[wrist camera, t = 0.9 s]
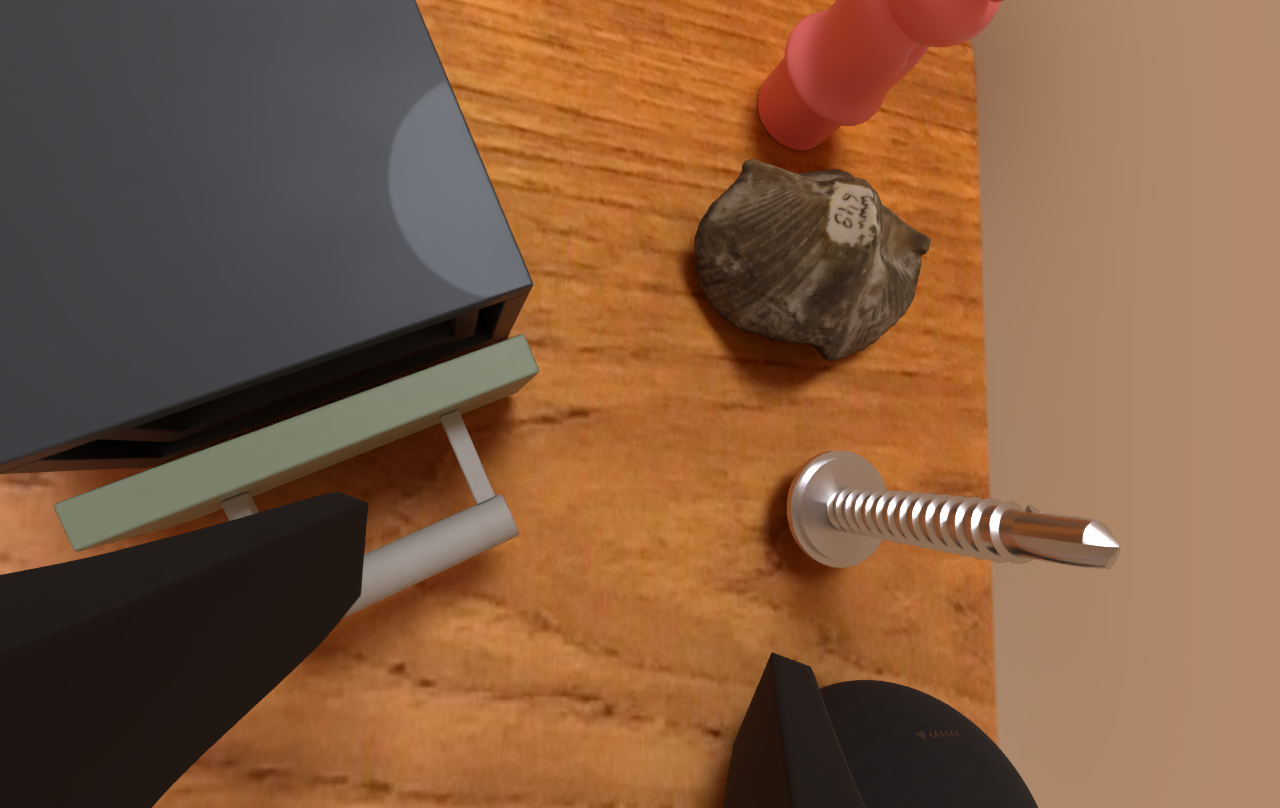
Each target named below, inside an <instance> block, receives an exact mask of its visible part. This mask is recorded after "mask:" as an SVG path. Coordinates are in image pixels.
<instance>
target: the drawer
mask: <svg viewBox="0 0 1280 808" xmlns="http://www.w3.org/2000/svg"><path fill="white" fill-rule="evenodd" d="M478 312H479V310H476V311H473V312H470V313H467V314H464V315H461V316H458V317H455V318H452V319H449V320H446V321H444V322H441V323H438V324H435V325H432V326H429V327H426V328H423V329H420V330H417V331H414V332H411V333H408V334H405V335H403V336H400V337H397V338H394V339H391V340H388V341H385V342H382V343H379V344H376V345H373V346H370V347H367V348H364V349H361V350H359V351H356V352H353V353H350V354H347V355H344V356H341V357H338V358H335V359H332V360H329V361H326V362H323V363H320V364H317V365H315V366H312V367H309V368H306V369H303V370H300V371H297V372H294V373H291V374H288V375H285V376H282V377H279V378H276V379H273V380H271V381H268V382H265V383H262V384H259V385H256V386H253V387H250V388H247V389H244V390H241V391H238V392H235V393H232V394H230V395H227V396H224V397H221V398H218V399H215V400H212V401H209V402H206V403H203V404H200V405H197V406H194V407H191V408H188V409H186V410H183V411H180V412H177V413H174V414H171V415H168V416H165V417H162V418H159V419H156V420H153V421H150V422H147V423H144V424H142V425H139V426H136V427H133V428H130V429H127V430H124V431H121V432H118V433H115V434H112V435H109V436H106V437H103V438H101V439H105V440H130V441H154V442H173V441H176V440H179V439H182V438H185V437H188V436H190V435H193V434H196V433H199V432H202V431H204V430H207V429H210V428H213V427H216V426H219V425H221V424H224V423H227V422H230V421H233V420H236V419H238V418H241V417H244V416H247V415H250V414H252V413H255V412H258V411H261V410H264V409H267V408H269V407H272V406H275V405H278V404H281V403H284V402H286V401H289V400H292V399H295V398H298V397H301V396H303V395H306V394H309V393H312V392H315V391H317V390H320V389H323V388H326V387H329V386H332V385H334V384H337V383H340V382H343V381H346V380H349V379H351V378H354V377H357V376H360V375H363V374H365V373H368V372H371V371H374V370H377V369H380V368H382V367H385V366H388V365H391V364H394V363H397V362H399V361H402V360H405V359H408V358H411V357H414V356H416V355H419V354H422V353H425V352H428V351H430V350H433V349H436V348H439V347H442V346H445V345H447V344H450V343H453V342H456V341H459V340H462V339H464V338H467V337H470V336H473V335H474V332H475V327H476V322H477V317H478ZM538 372H539V368H538V366H537V364H536V361H535V359H534V356H533V354H532V352H531V349H530V347H529V344H528V342H527V340H526V337H525V336H524V335H518V336H516V337H513V338H510V339H507V340H505V341H502V342H499V343H496V344H494V345H491V346H488V347H485V348H483V349H480V350H477V351H474V352H472V353H469V354H466V355H463V356H460V357H458V358H455V359H452V360H449V361H447V362H444V363H441V364H438V365H436V366H433V367H430V368H427V369H425V370H422V371H419V372H416V373H414V374H411V375H408V376H405V377H403V378H400V379H397V380H394V381H392V382H389V383H386V384H383V385H381V386H378V387H375V388H372V389H370V390H367V391H364V392H361V393H359V394H356V395H353V396H350V397H347V398H345V399H342V400H339V401H336V402H334V403H331V404H328V405H325V406H323V407H320V408H317V409H314V410H312V411H309V412H306V413H303V414H301V415H298V416H295V417H292V418H290V419H287V420H284V421H281V422H279V423H276V424H273V425H270V426H268V427H265V428H262V429H259V430H257V431H254V432H251V433H248V434H246V435H243V436H240V437H237V438H234V439H232V440H229V441H226V442H223V443H221V444H218V445H215V446H212V447H210V448H207V449H204V450H201V451H199V452H196V453H193V454H190V455H188V456H185V457H182V458H179V459H177V460H174V461H171V462H168V463H166V464H163V465H160V466H157V467H155V468H152V469H149V470H146V471H144V472H141V473H138V474H135V475H133V476H130V477H127V478H124V479H121V480H119V481H116V482H113V483H110V484H108V485H105V486H102V487H99V488H97V489H94V490H91V491H88V492H86V493H83V494H80V495H77V496H75V497H72V498H69V499H66V500H64V501H61V502H58V503H57V504H55V505H54V509H55V511H56V513H57V515H58V517H59V519H60V522H61V524H62V526H63V528H64V530H65V532H66V535H67V537H68V539H69V541H70V543H71V545H72V547H73V549H74V550H75V551H82V550H86V549H90V548H93V547H97V546H101V545H105V544H109V543H112V542H116V541H120V540H124V539H128V538H131V537H135V536H139V535H143V534H147V533H150V532H154V531H158V530H162V529H166V528H169V527H173V526H177V525H181V524H185V523H187V522H190V521H192V520H195V519H197V518H200V517H202V516H205V515H207V514H210V513H213V512H215V511H218V510H220V509H224V512H225V514H226V516H227V518H228V520H229V521H231V520H235V519H238V518H242V517H245V516H249V515H252V514H256V513H259V512H258V509H257V507H256V505H255V503H254V500H253V498H252V497H253V496H256V495H258V494H261V493H263V492H266V491H268V490H271V489H273V488H276V487H279V486H281V485H284V484H286V483H289V482H291V481H294V480H296V479H299V478H301V477H304V476H306V475H309V474H311V473H314V472H317V471H319V470H322V469H324V468H327V467H329V466H332V465H334V464H337V463H339V462H342V461H344V460H347V459H350V458H352V457H355V456H357V455H360V454H362V453H365V452H367V451H370V450H372V449H375V448H377V447H380V446H383V445H385V444H388V443H390V442H393V441H395V440H398V439H400V438H403V437H405V436H408V435H410V434H413V433H416V432H418V431H421V430H423V429H426V428H428V427H431V426H433V425H436V424H438V423H442V425H443V428H444V430H445V432H446V435H447V437H448V439H449V442H450V444H451V446H452V449H453V451H454V453H455V456H456V458H457V460H458V463H459V465H460V467H461V470H462V472H463V474H464V477H465V479H466V481H467V484H468V486H469V488H470V491H471V493H472V495H473V498H474V500H475V502H476V503H477V504H476V505H474V506H472V507H470V508H467V509H465V510H463V511H461V512H458V513H456V514H454V515H452V516H449V517H447V518H445V519H443V520H440V521H438V522H436V523H434V524H432V525H429V526H427V527H425V528H423V529H420V530H418V531H416V532H414V533H411V534H409V535H407V536H405V537H402V538H400V539H398V540H396V541H393V542H391V543H389V544H387V545H384V546H382V547H380V548H378V549H375V550H373V551H371V552H369V553H366V554H364V563H363V576H362V589H361V596H360V597H359V598H358V600H357V601H356V602H355V603H354V605H353V606H352V607H351V608H350V610H349V611H348V612H347V613H346V614H345V616H344V617H343V618H345V617H347V616H349V615H351V614H353V613H356V612H358V611H360V610H362V609H364V608H366V607H368V606H370V605H372V604H375V603H377V602H379V601H381V600H383V599H385V598H387V597H389V596H391V595H394V594H396V593H398V592H400V591H402V590H404V589H406V588H408V587H411V586H413V585H415V584H417V583H419V582H421V581H423V580H425V579H427V578H430V577H432V576H434V575H436V574H438V573H440V572H442V571H444V570H446V569H449V568H451V567H453V566H455V565H457V564H459V563H461V562H463V561H465V560H468V559H470V558H472V557H474V556H476V555H478V554H480V553H482V552H485V551H487V550H489V549H491V548H493V547H495V546H497V545H499V544H501V543H504V542H506V541H508V540H510V539H512V538H514V537H516V536H518V535H519V533H518V529H517V527H516V524H515V522H514V519H513V517H512V515H511V512H510V510H509V508H508V506H507V503H506V501H505V499H504V497H503V496H502V495H501V494H499V495H497V496H495V494H494V491H493V489H492V487H491V484H490V482H489V480H488V477H487V475H486V473H485V470H484V468H483V466H482V463H481V461H480V459H479V456H478V454H477V452H476V449H475V447H474V445H473V442H472V440H471V438H470V435H469V433H468V431H467V428H466V426H465V424H464V421H463V419H462V417H461V414H464V413H466V412H469V411H471V410H474V409H476V408H479V407H482V406H484V405H487V404H489V403H492V402H494V401H497V400H499V399H502V398H504V397H507V396H509V395H512V394H515V393H517V392H518V391H519V390H520V389H521V388H522V387H523V386H524V385H525V384H527V383H528V382H529V381H530V380H531V379H532V378H533V377H534V376H535V375H536V374H537V373H538ZM343 618H342V619H343Z"/></svg>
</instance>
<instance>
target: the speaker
mask: <svg viewBox="0 0 1280 808" xmlns="http://www.w3.org/2000/svg"><path fill="white" fill-rule="evenodd" d="M819 690H820V692H821V695H822V698H823V701H824V704H825V707H826V709H827V712H828V715H829V718H830V720H831V723H832V726H833V728H834V731H835V734H836V736H837V739H838V741H839V744H840V747H841V749H842V752H843V755H844V757H845V760H846V762H847V765H848V767H849V770H850V772H851V774H852V777H853V779H854V782H855V784H856V786H857V789H858V791H859V793H860V796H861V798H862V800H863V803H864V805H865V808H1038V806H1037V804H1036V802H1035V800H1034V798H1033V797H1032V795H1031V793H1030V791H1029V789H1028V787H1027V786H1026V784H1025V783H1024V781H1023V779H1022V778H1021V776H1020V775H1019V773H1018V772H1017V770H1016V769H1015V767H1014V766H1013V765H1012V763H1011V762H1010V761H1009V759H1008V758H1007V757H1006V756H1005V754H1004V753H1003V752H1002V751H1001V750H1000V749H999V747H998V746H997V745H996V744H995V743H994V742H993V741H992V740H991V739H990V738H989V737H988V736H987V735H986V734H985V733H984V732H983V731H982V730H981V729H980V728H978V727H977V726H976V725H975V724H974V723H973V722H971V721H970V720H969V719H968V718H966V717H965V716H964V715H962V714H961V713H959V712H958V711H957V710H955V709H954V708H952V707H950V706H949V705H947V704H945V703H944V702H942V701H940V700H938V699H936V698H934V697H932V696H930V695H928V694H926V693H923V692H921V691H918V690H916V689H913V688H910V687H907V686H903V685H900V684H895V683H890V682H884V681H875V680H855V681H846V682H841V683H836V684H832V685H829V686H826V687H823V688H821V689H819Z"/></svg>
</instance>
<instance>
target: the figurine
mask: <svg viewBox="0 0 1280 808" xmlns="http://www.w3.org/2000/svg"><path fill="white" fill-rule="evenodd" d="M1002 1H1003V0H836V1H835V3H834V4H833V5H832V6H831V7H830V8H829V9H828V10H827V11H821V12H817V13H814V14H811V15H809V16H807V17H805V18H804V19H802V20H801V21H800V22H799V23H798V24H797V25H796V26H795V27H794V29H793V30H792V32H791V34H790V36H789V38H788V41H787V45H786V50H785V57H784V59H783V60H782V61H781V62H780V63H779V64H778V66H777V67H776V68H775V69H774V70H773V72H772V73H771V74H770V75H769V76H768V77H767V79H766V80H765V81H764V82H763V84H762V86H761V88H760V90H759V94H758V112H759V116H760V119H761V121H762V123H763V125H764V127H765V129H766V130H767V131H768V133H769V134H770V135H771V136H772V137H773V138H774V139H775V140H776V141H777V142H779V143H780V144H782V145H783V146H785V147H788V148H790V149H794V150H808V149H812V148H814V147H816V146H817V145H819V144H820V143H821V142H823V141H824V140H825V139H826V138H827V137H829V136H830V135H831V134H832V133H833V132H834V131H836V130H837V129H838V128H839V127H840V126H854V125H858V124H861V123H863V122H865V121H867V120H869V119H870V118H871V117H872V116H873V115H874V114H875V113H876V112H877V111H878V109H879V108H880V106H881V104H882V103H883V100H884V98H885V95H886V93H887V92H888V91H889V90H890V89H891V88H892V87H893V86H894V85H895V84H896V83H897V82H898V81H900V80H901V79H902V78H903V77H904V76H905V75H906V74H907V73H908V72H909V71H910V70H911V69H912V68H913V67H914V66H915V65H916V64H917V63H918V62H919V60H920V59H921V58H922V57H923V55H924V54H925V52H926V51H927V49H928V48H929V46H931V47H948V46H954V45H958V44H961V43H964V42H966V41H968V40H970V39H972V38H973V37H975V36H976V35H978V34H979V33H980V32H981V31H983V29H985V28H986V26H987V25H988V24H989V23H990V21H991V20H992V19H993V18H994V16H995V14H996V13H997V11H998V9H999V7H1000V4H1001V2H1002Z"/></svg>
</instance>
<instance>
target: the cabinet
mask: <svg viewBox="0 0 1280 808" xmlns="http://www.w3.org/2000/svg"><path fill="white" fill-rule="evenodd" d="M532 286H533V282H532V279H531V277H530V274H529V272H528V270H527V267H526V265H525V262H524V260H523V258H522V255H521V253H520V250H519V248H518V246H517V243H516V241H515V239H514V236H513V234H512V231H511V229H510V227H509V224H508V222H507V219H506V217H505V215H504V212H503V210H502V207H501V205H500V203H499V200H498V198H497V195H496V193H495V191H494V188H493V186H492V183H491V181H490V179H489V176H488V174H487V171H486V169H485V167H484V164H483V162H482V159H481V157H480V155H479V152H478V150H477V147H476V145H475V143H474V140H473V138H472V135H471V133H470V131H469V128H468V126H467V123H466V121H465V119H464V116H463V114H462V111H461V109H460V107H459V104H458V102H457V99H456V97H455V95H454V92H453V90H452V87H451V85H450V83H449V80H448V78H447V75H446V73H445V71H444V68H443V66H442V63H441V61H440V59H439V56H438V54H437V51H436V49H435V47H434V44H433V42H432V39H431V37H430V35H429V32H428V30H427V27H426V25H425V23H424V20H423V18H422V15H421V13H420V11H419V8H418V6H417V3H416V1H415V0H0V474H9V473H31V472H53V471H75V470H98V469H120V468H143V467H149V466H152V465H155V464H158V463H160V462H163V461H166V460H169V459H171V458H174V457H177V456H180V455H182V454H185V453H188V452H191V451H193V450H196V449H199V448H202V447H205V446H207V445H210V444H213V443H216V442H218V441H221V440H224V439H227V438H229V437H232V436H235V435H238V434H241V433H243V432H246V431H249V430H252V429H254V428H257V427H260V426H263V425H265V424H268V423H271V422H274V421H276V420H279V419H282V418H285V417H288V416H290V415H293V414H296V413H299V412H301V411H304V410H307V409H310V408H312V407H315V406H318V405H321V404H324V403H326V402H329V401H332V400H335V399H337V398H340V397H343V396H346V395H348V394H351V393H354V392H357V391H359V390H362V389H365V388H368V387H371V386H373V385H376V384H379V383H382V382H384V381H387V380H390V379H393V378H395V377H398V376H401V375H404V374H406V373H409V372H412V371H415V370H418V369H420V368H423V367H426V366H429V365H431V364H434V363H437V362H440V361H442V360H445V359H448V358H451V357H454V356H456V355H459V354H462V353H465V352H467V351H470V350H473V349H476V348H478V347H481V346H484V345H487V344H489V343H492V342H495V341H498V340H501V339H503V338H506V337H508V336H509V334H510V331H511V329H512V327H513V325H514V323H515V321H516V319H517V317H518V314H519V312H520V310H521V308H522V306H523V304H524V302H525V300H526V298H527V296H528V294H529V292H530V290H531V288H532ZM476 310H479V312H478V317H477V322H476V327H475V332H474V335H473V336H470V337H467V338H464V339H462V340H459V341H456V342H453V343H450V344H447V345H445V346H442V347H439V348H436V349H433V350H430V351H428V352H425V353H422V354H419V355H416V356H414V357H411V358H408V359H405V360H402V361H399V362H397V363H394V364H391V365H388V366H385V367H382V368H380V369H377V370H374V371H371V372H368V373H365V374H363V375H360V376H357V377H354V378H351V379H349V380H346V381H343V382H340V383H337V384H334V385H332V386H329V387H326V388H323V389H320V390H317V391H315V392H312V393H309V394H306V395H303V396H301V397H298V398H295V399H292V400H289V401H286V402H284V403H281V404H278V405H275V406H272V407H269V408H267V409H264V410H261V411H258V412H255V413H252V414H250V415H247V416H244V417H241V418H238V419H236V420H233V421H230V422H227V423H224V424H221V425H219V426H216V427H213V428H210V429H207V430H204V431H202V432H199V433H196V434H193V435H190V436H188V437H185V438H182V439H179V440H176V441H173V442H154V441H130V440H105V439H101V438H103V437H106V436H109V435H112V434H115V433H118V432H121V431H124V430H127V429H130V428H133V427H136V426H139V425H142V424H144V423H147V422H150V421H153V420H156V419H159V418H162V417H165V416H168V415H171V414H174V413H177V412H180V411H183V410H186V409H188V408H191V407H194V406H197V405H200V404H203V403H206V402H209V401H212V400H215V399H218V398H221V397H224V396H227V395H230V394H232V393H235V392H238V391H241V390H244V389H247V388H250V387H253V386H256V385H259V384H262V383H265V382H268V381H271V380H273V379H276V378H279V377H282V376H285V375H288V374H291V373H294V372H297V371H300V370H303V369H306V368H309V367H312V366H315V365H317V364H320V363H323V362H326V361H329V360H332V359H335V358H338V357H341V356H344V355H347V354H350V353H353V352H356V351H359V350H361V349H364V348H367V347H370V346H373V345H376V344H379V343H382V342H385V341H388V340H391V339H394V338H397V337H400V336H403V335H405V334H408V333H411V332H414V331H417V330H420V329H423V328H426V327H429V326H432V325H435V324H438V323H441V322H444V321H446V320H449V319H452V318H455V317H458V316H461V315H464V314H467V313H470V312H473V311H476Z"/></svg>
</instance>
